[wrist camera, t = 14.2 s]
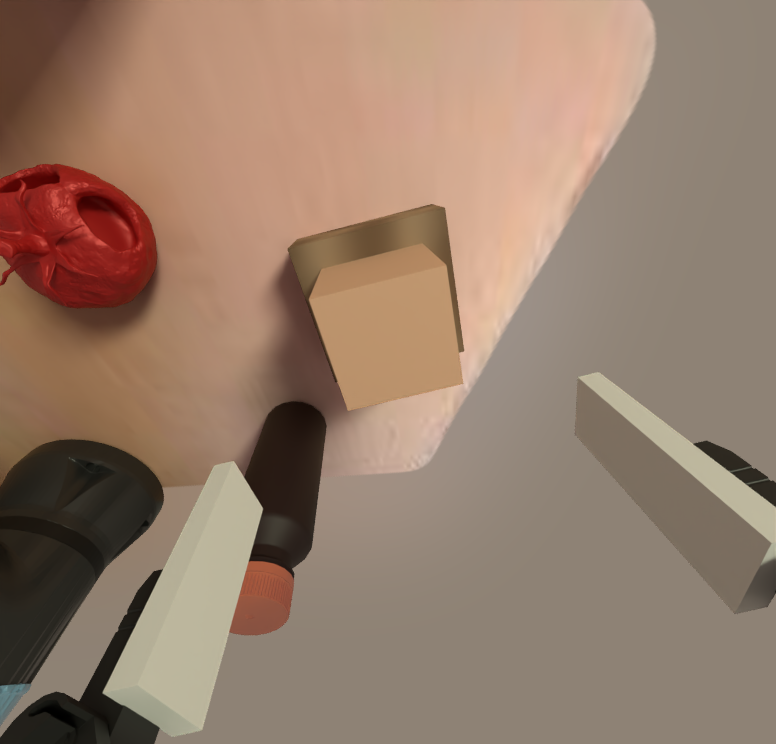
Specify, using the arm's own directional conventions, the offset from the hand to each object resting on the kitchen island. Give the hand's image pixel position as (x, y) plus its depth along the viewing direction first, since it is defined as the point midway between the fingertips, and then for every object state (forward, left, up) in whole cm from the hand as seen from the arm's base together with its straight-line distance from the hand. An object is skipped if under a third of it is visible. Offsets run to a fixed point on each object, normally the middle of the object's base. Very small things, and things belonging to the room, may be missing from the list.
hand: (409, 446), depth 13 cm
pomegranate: (-21, +10, -23) cm, 32 cm away
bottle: (-13, -13, -23) cm, 29 cm away
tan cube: (0, 0, -17) cm, 17 cm away
